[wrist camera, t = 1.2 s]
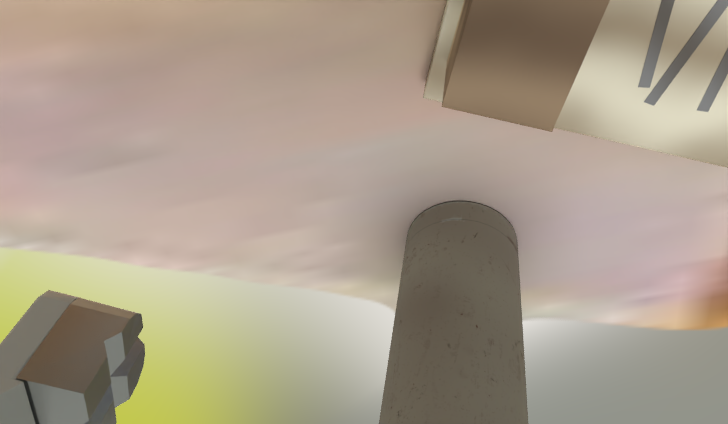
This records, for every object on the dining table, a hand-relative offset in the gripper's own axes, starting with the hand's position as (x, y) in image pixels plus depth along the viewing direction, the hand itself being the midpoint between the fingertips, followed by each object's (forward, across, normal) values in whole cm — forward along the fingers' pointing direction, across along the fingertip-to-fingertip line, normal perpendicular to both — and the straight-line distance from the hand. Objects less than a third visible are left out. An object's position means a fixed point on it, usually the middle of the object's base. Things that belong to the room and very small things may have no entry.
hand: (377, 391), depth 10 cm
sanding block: (+26, -4, +1) cm, 26 cm away
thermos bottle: (+28, -6, +20) cm, 35 cm away
